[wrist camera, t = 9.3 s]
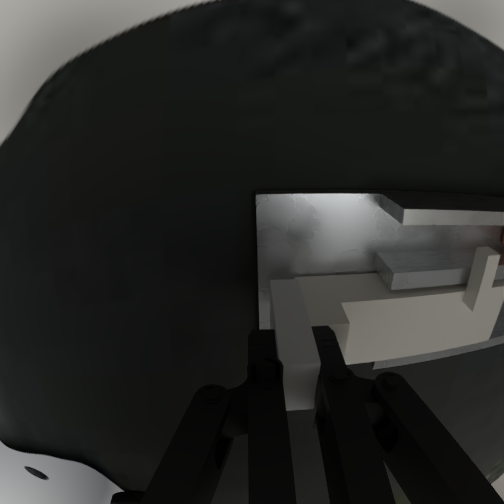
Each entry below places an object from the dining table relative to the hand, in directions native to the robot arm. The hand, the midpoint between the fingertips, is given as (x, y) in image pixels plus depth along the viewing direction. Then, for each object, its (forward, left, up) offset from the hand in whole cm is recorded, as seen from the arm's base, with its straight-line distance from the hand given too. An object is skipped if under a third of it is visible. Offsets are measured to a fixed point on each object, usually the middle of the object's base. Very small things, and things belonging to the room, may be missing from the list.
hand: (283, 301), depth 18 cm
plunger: (+8, 0, -1) cm, 8 cm away
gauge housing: (+12, 0, -3) cm, 12 cm away
